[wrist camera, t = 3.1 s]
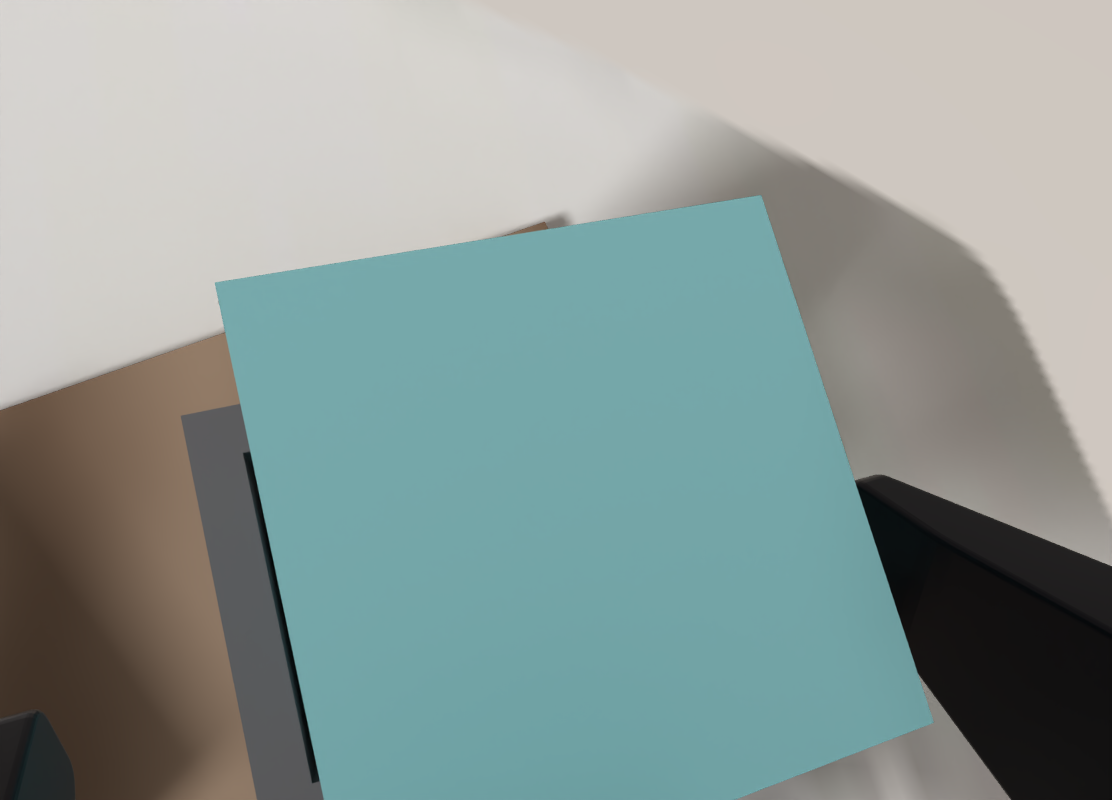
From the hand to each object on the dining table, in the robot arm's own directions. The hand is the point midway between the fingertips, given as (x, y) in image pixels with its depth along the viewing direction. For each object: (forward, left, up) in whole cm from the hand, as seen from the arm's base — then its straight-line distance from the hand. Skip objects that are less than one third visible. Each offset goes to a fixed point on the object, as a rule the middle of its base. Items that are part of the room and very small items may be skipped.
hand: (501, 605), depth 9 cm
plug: (0, 0, -8) cm, 8 cm away
